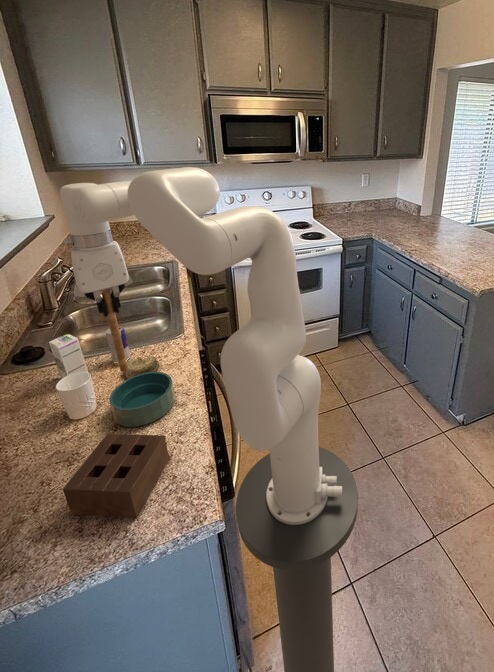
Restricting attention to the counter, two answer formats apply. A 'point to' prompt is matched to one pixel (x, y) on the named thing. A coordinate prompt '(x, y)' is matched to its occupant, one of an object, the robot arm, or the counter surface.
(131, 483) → the holder
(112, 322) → the stick
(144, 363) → the tan textured clump
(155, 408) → the bowl
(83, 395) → the white cup
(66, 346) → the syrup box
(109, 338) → the energy drink
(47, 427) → the counter surface
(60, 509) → the counter surface
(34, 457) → the counter surface
